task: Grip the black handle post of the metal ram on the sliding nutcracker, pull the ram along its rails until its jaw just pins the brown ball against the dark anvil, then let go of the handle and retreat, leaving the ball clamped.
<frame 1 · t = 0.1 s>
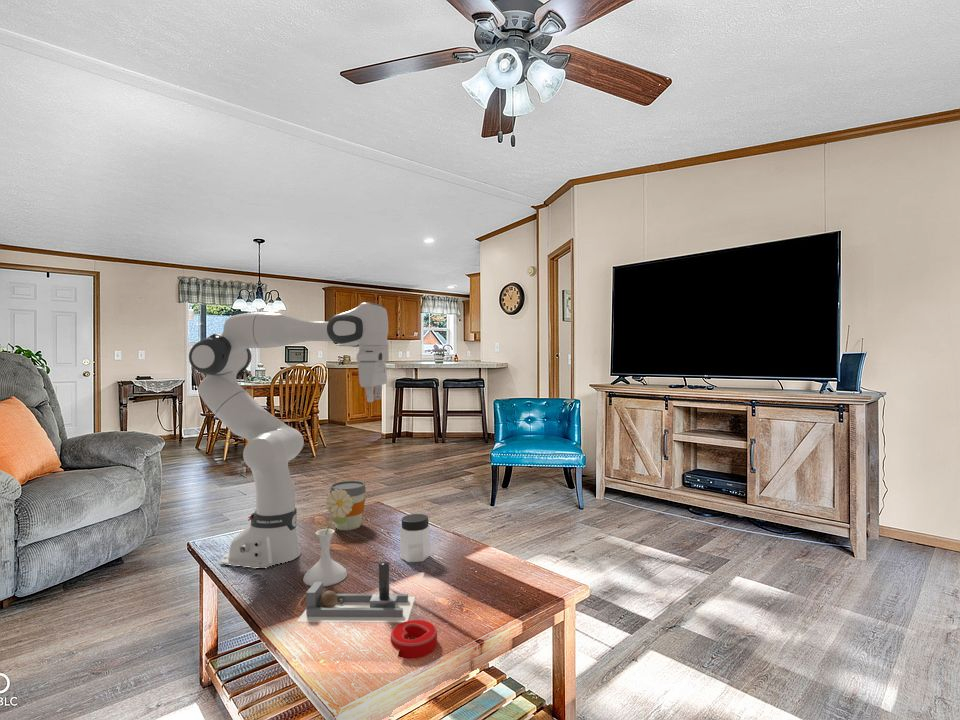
hand: (374, 400, 149), 48 cm above the table, fingers open, 8 cm apart
reusable coffee cup: (348, 526, 178), on the table
brown ball: (328, 608, 115), point 1 cm above the table, touching sliding nutcracker
jar: (415, 557, 149), on the table
ram: (384, 585, 115), point 7 cm above the table, slide at 0.0 cm
flower in vase: (328, 582, 133), on the table
decorative ornament: (414, 646, 103), on the table
sliding nutcracker: (359, 614, 115), on the table
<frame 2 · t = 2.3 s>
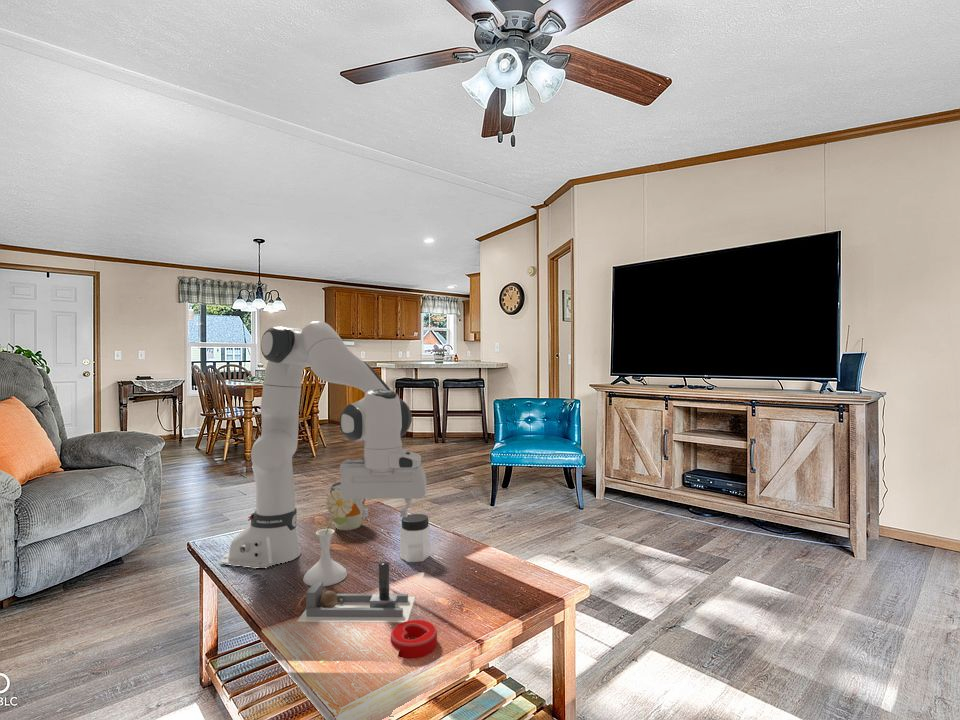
hand: (384, 516, 115), 23 cm above the table, fingers open, 8 cm apart
nothing on the table moved.
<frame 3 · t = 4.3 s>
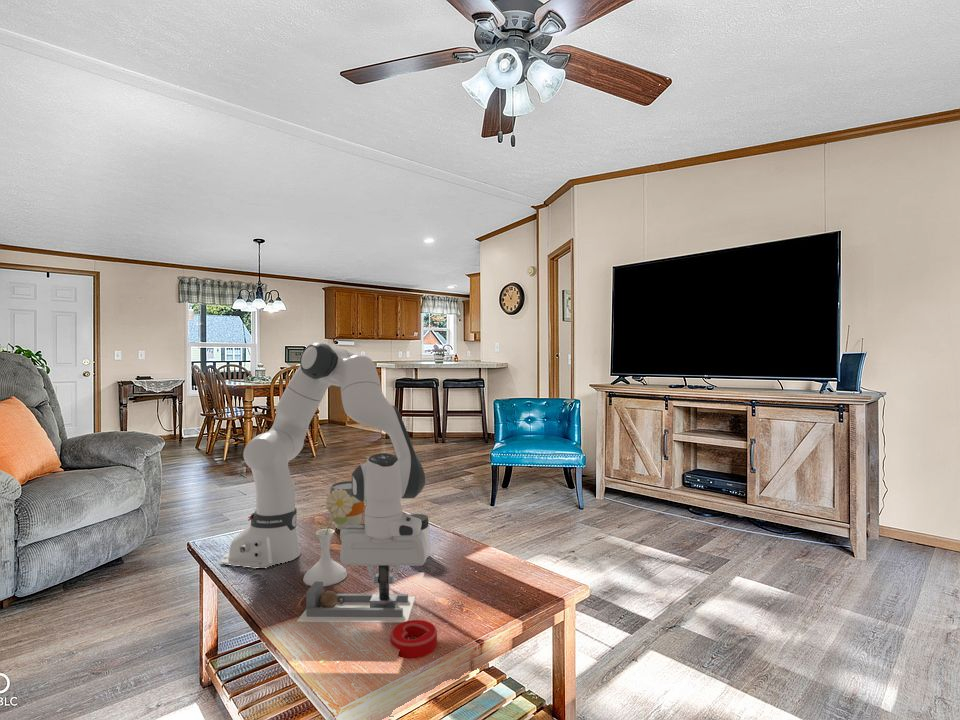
hand: (384, 582, 115), 8 cm above the table, fingers closed on ram, 2 cm apart
ram: (384, 585, 115), point 7 cm above the table, slide at 0.0 cm, touching gripper
everything else where it was.
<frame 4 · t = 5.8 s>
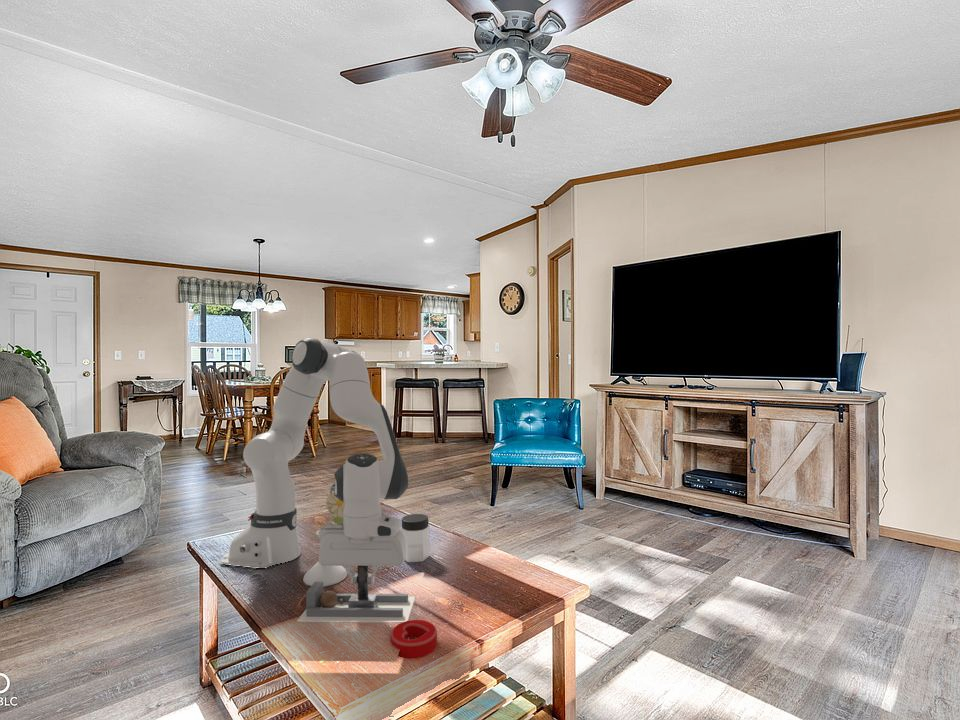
hand: (362, 582, 115), 8 cm above the table, fingers closed on ram, 2 cm apart
ram: (362, 585, 115), point 7 cm above the table, slide at 5.0 cm, touching gripper
everything else where it was.
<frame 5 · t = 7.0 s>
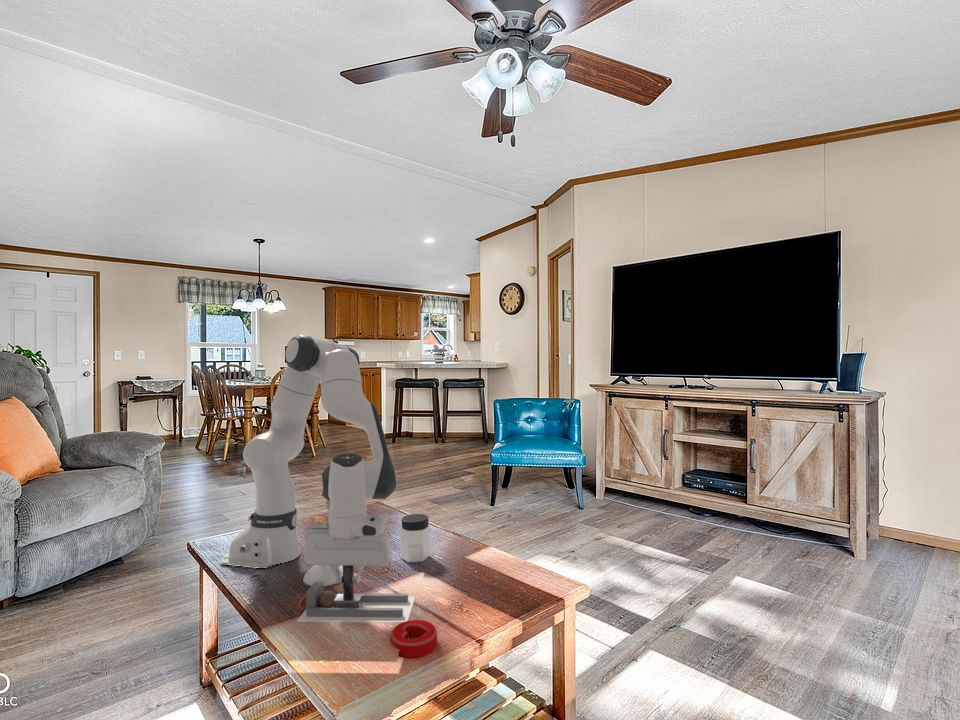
hand: (348, 582, 115), 8 cm above the table, fingers closed on ram, 2 cm apart
brown ball: (328, 608, 115), point 2 cm above the table, tilted 9°, touching sliding nutcracker, ram
ram: (348, 585, 115), point 7 cm above the table, slide at 8.5 cm, touching gripper, brown ball
everything else where it was.
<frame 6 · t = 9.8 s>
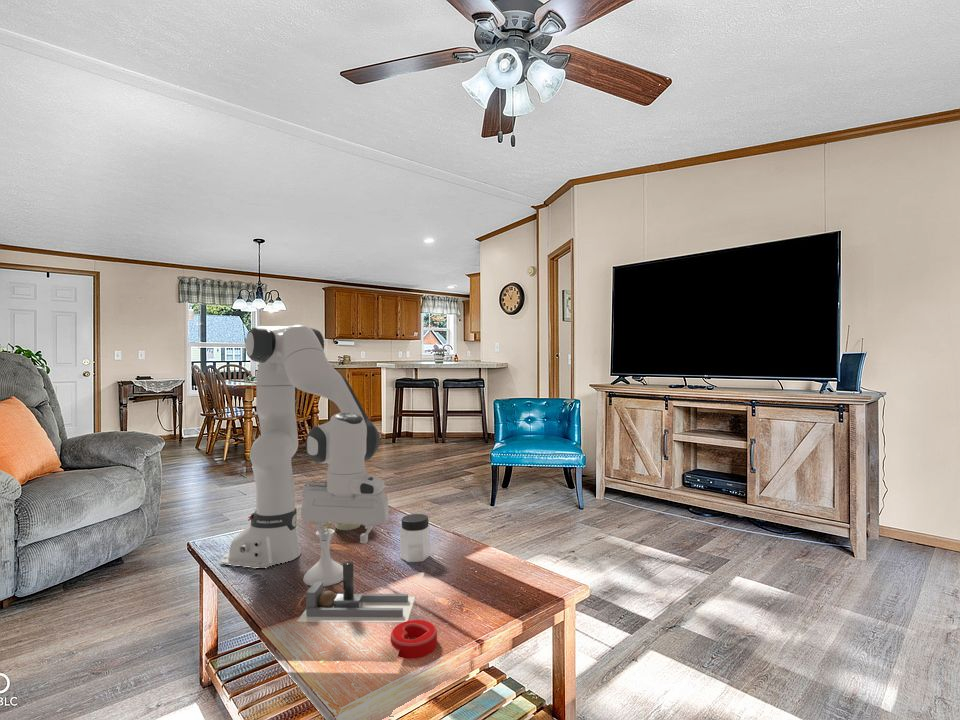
hand: (344, 541, 115), 17 cm above the table, fingers open, 8 cm apart
ram: (348, 585, 115), point 7 cm above the table, slide at 8.5 cm, touching brown ball
everything else where it was.
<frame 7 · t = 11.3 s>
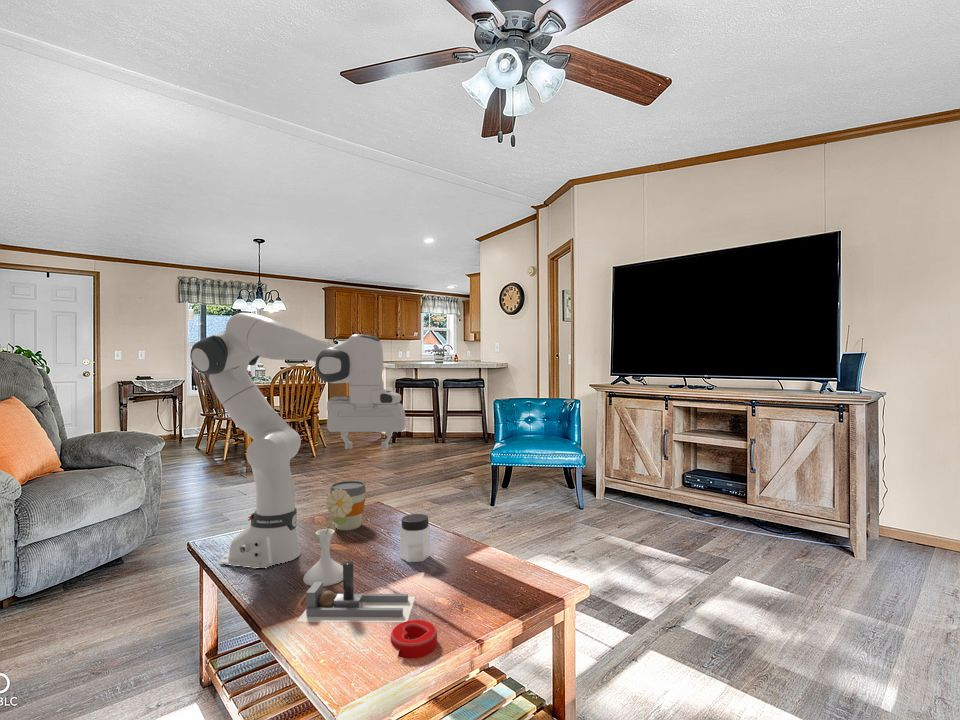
hand: (366, 448, 127), 37 cm above the table, fingers open, 8 cm apart
nothing on the table moved.
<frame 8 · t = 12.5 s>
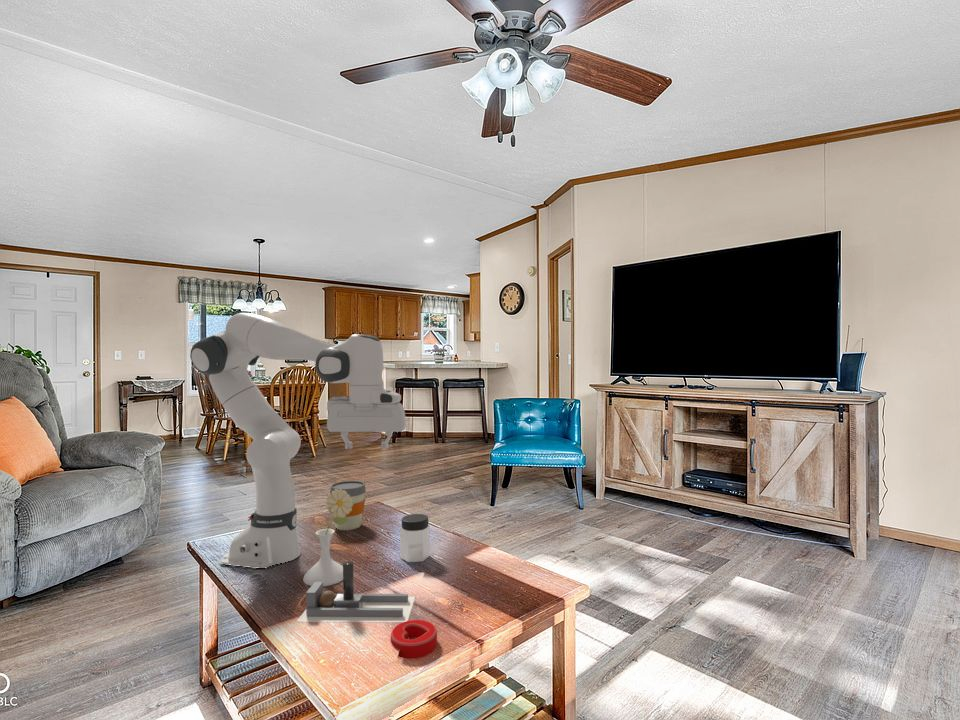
hand: (366, 448, 127), 37 cm above the table, fingers open, 8 cm apart
nothing on the table moved.
at the end: ram slide at 8.5 cm; brown ball 0.4 cm from the target spot on the sliding nutcracker, point 1.5 cm above the sliding nutcracker's base; the gripper is holding nothing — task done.
